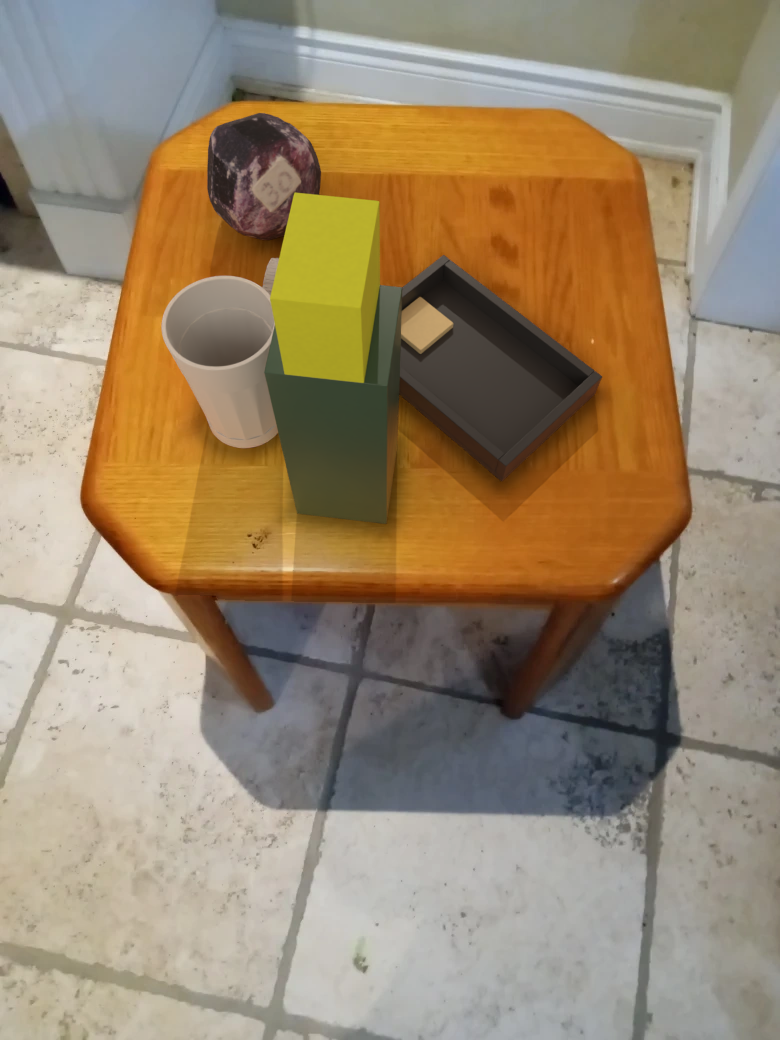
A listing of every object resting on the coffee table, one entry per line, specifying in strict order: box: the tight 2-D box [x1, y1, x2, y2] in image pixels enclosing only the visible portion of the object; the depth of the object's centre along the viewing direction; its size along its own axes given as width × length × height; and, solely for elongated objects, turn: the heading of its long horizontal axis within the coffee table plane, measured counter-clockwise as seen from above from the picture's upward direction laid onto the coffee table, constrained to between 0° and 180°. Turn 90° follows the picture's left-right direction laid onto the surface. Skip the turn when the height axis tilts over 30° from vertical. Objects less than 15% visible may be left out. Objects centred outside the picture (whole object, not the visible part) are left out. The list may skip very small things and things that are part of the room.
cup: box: [161, 275, 278, 449], centre depth 61 cm, size 8×8×12 cm
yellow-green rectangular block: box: [270, 193, 381, 383], centre depth 44 cm, size 4×7×6 cm, turn 173°
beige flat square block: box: [401, 297, 453, 354], centre depth 69 cm, size 4×4×1 cm
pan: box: [399, 254, 603, 483], centre depth 67 cm, size 18×12×3 cm, turn 45°
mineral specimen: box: [206, 112, 322, 241], centre depth 71 cm, size 10×10×10 cm
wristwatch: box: [261, 257, 279, 296], centre depth 69 cm, size 3×5×5 cm, turn 168°
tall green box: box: [264, 284, 403, 525], centre depth 56 cm, size 7×7×19 cm
